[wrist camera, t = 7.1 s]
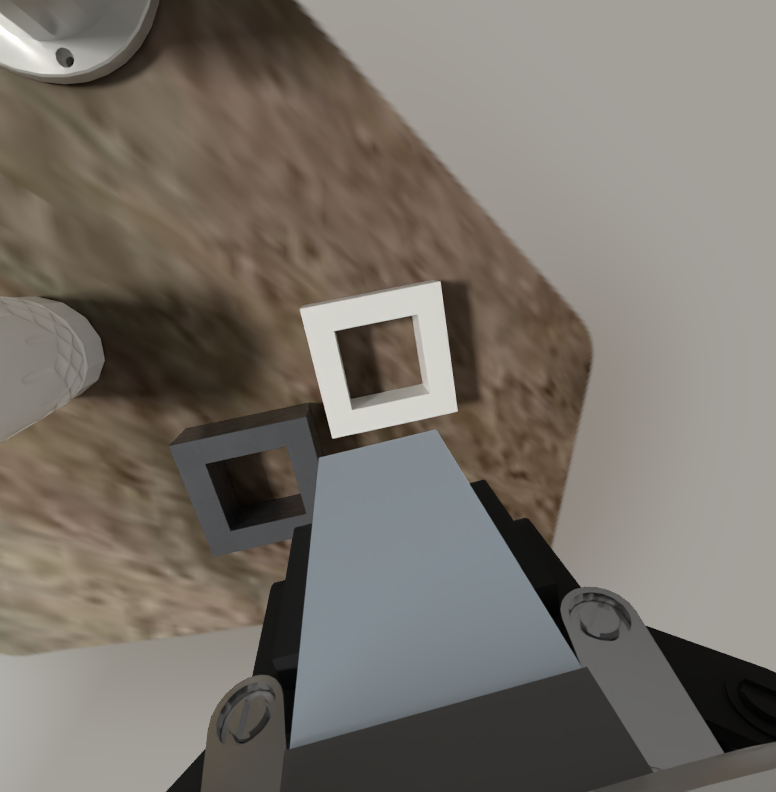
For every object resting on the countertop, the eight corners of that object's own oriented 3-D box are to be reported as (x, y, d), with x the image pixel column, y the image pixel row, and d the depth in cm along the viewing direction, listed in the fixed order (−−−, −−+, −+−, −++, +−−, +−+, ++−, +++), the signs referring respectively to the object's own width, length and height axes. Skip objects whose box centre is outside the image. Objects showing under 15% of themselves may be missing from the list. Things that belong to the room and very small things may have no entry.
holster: (302, 305, 27) (299, 308, 25) (431, 280, 28) (440, 281, 25) (332, 425, 30) (332, 438, 28) (448, 400, 31) (457, 411, 28)
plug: (317, 456, 13) (261, 955, 4) (437, 427, 13) (687, 826, 4) (346, 555, 14) (362, 1111, 5) (455, 527, 15) (673, 1009, 5)
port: (185, 428, 29) (167, 447, 26) (309, 402, 30) (305, 417, 26) (224, 531, 32) (212, 558, 29) (336, 505, 32) (336, 530, 29)
